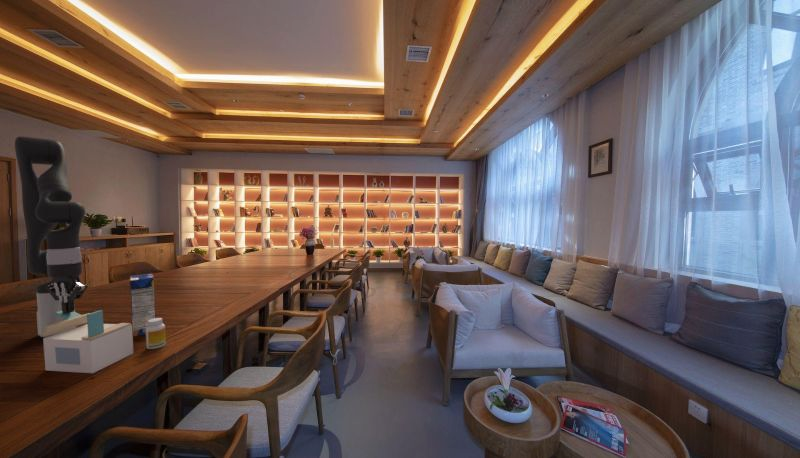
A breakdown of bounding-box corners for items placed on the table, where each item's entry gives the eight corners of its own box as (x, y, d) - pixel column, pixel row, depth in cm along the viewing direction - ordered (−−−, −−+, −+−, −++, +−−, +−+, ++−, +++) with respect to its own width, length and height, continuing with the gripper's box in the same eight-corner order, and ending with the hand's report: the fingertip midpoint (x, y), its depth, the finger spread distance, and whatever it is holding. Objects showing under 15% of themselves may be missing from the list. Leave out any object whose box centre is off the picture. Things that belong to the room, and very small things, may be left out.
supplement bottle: (169, 343, 104) (168, 318, 104) (152, 350, 99) (151, 323, 99) (159, 341, 106) (158, 316, 106) (142, 348, 101) (141, 321, 100)
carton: (45, 370, 87) (42, 338, 86) (91, 351, 99) (89, 323, 98) (92, 373, 85) (90, 341, 85) (133, 353, 97) (131, 324, 97)
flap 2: (81, 339, 85) (80, 314, 85) (121, 324, 97) (119, 302, 96) (92, 339, 85) (90, 315, 85) (130, 324, 96) (129, 302, 96)
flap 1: (90, 313, 97) (72, 303, 98) (47, 327, 86) (26, 315, 87) (87, 322, 98) (68, 312, 98) (43, 336, 87) (23, 325, 87)
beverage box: (133, 336, 110) (129, 280, 109) (133, 327, 118) (130, 275, 117) (156, 331, 115) (153, 277, 113) (155, 323, 123) (152, 273, 121)
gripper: (31, 263, 91) (35, 315, 93) (68, 264, 90) (72, 317, 91) (61, 259, 99) (64, 308, 100) (95, 260, 98) (99, 309, 99)
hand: (68, 312), depth 96 cm, fingers closed
